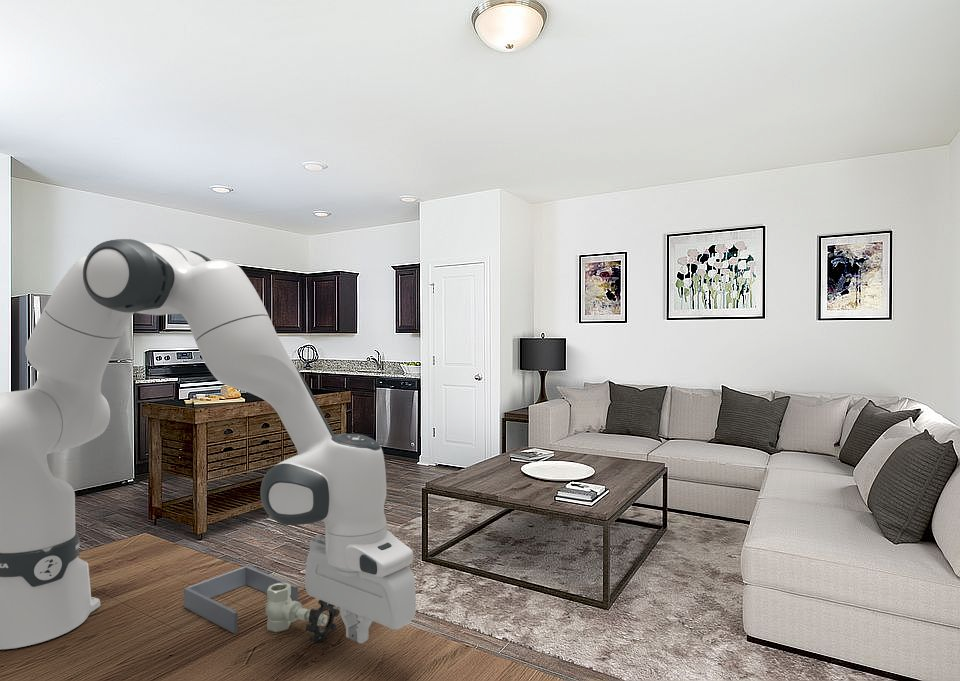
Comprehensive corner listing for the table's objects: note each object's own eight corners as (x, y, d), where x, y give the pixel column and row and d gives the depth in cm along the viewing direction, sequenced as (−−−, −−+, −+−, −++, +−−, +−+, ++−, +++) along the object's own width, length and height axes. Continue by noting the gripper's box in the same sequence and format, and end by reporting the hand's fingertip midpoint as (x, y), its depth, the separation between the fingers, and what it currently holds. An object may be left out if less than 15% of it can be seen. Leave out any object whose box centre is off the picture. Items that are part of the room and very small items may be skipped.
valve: (254, 633, 94) (310, 651, 88) (253, 592, 94) (310, 608, 88) (285, 615, 100) (339, 631, 94) (284, 576, 99) (339, 591, 94)
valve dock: (183, 607, 102) (183, 588, 102) (246, 582, 112) (246, 565, 112) (234, 633, 93) (234, 613, 93) (297, 604, 103) (297, 586, 103)
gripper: (294, 537, 89) (295, 627, 89) (390, 568, 77) (391, 672, 77) (326, 526, 94) (327, 611, 94) (422, 553, 82) (423, 650, 82)
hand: (357, 639), depth 86 cm, fingers closed
